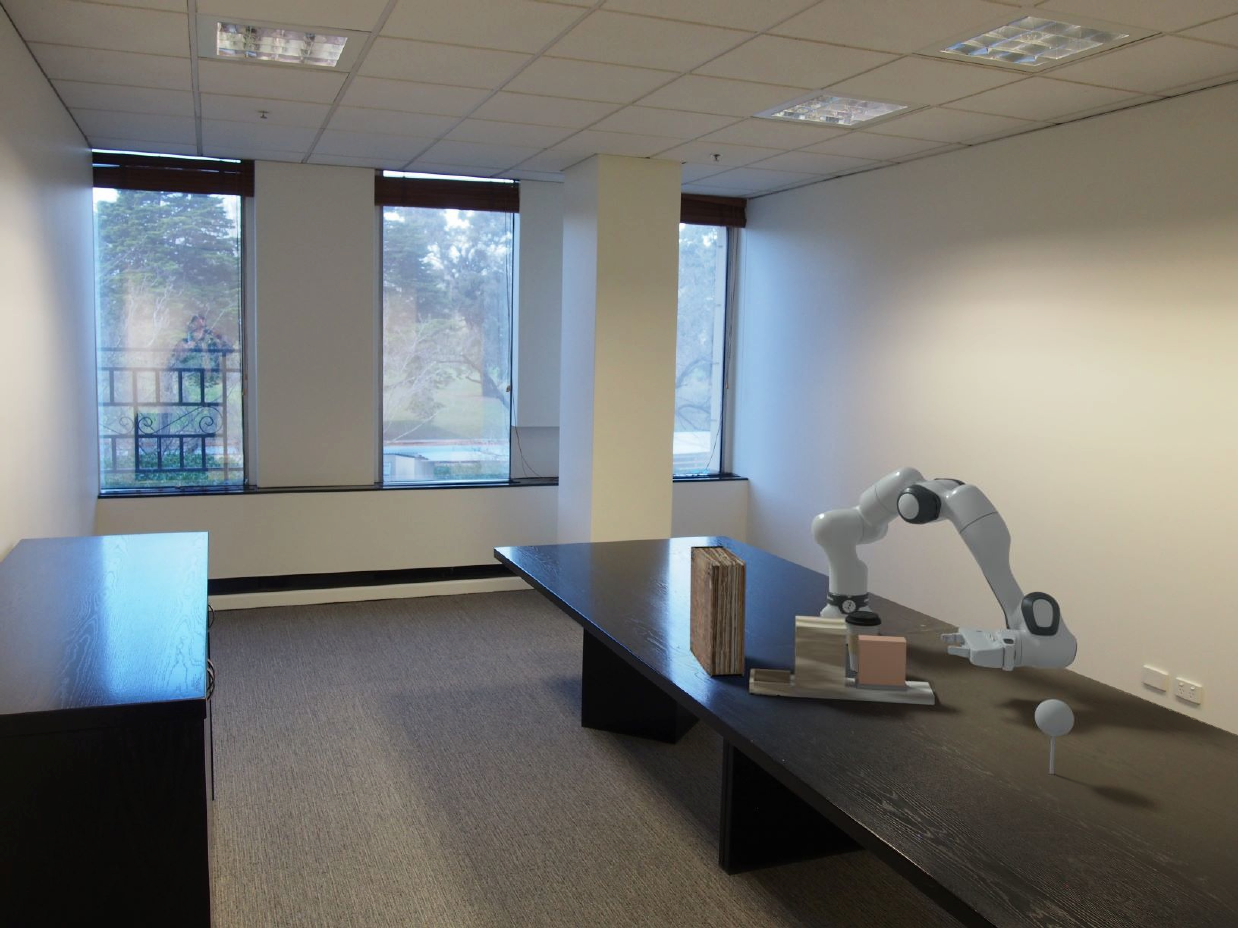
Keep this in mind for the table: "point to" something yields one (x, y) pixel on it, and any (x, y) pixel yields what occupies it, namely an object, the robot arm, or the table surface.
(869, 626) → the coffee cup
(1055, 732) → the lollipop
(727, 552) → the book
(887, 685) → the block
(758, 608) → the table surface
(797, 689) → the tunnel track
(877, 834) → the table surface
